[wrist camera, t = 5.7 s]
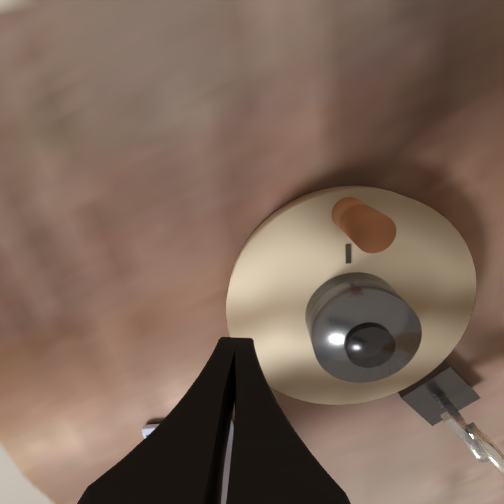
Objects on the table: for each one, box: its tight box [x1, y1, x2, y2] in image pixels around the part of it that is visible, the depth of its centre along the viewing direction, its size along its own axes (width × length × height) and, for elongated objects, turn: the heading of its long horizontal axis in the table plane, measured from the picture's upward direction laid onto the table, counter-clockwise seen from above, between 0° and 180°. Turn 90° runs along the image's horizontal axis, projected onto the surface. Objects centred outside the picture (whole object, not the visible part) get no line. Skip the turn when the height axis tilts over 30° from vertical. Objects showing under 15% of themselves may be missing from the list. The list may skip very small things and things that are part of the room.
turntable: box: [226, 185, 477, 405], centre depth 18 cm, size 16×16×6 cm
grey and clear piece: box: [398, 360, 504, 476], centre depth 20 cm, size 6×4×7 cm
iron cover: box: [305, 272, 422, 383], centre depth 17 cm, size 6×6×3 cm
